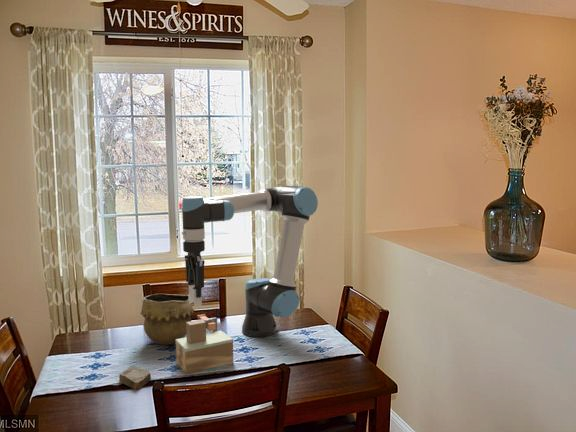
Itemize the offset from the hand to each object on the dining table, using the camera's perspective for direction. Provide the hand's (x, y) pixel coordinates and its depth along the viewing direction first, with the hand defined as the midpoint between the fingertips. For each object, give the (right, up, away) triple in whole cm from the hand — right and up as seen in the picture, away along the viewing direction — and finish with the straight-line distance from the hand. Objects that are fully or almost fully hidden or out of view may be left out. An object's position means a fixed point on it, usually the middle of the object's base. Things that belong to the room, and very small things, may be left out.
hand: (195, 304), depth 178 cm
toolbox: (+3, -22, +4) cm, 23 cm away
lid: (+3, -14, +3) cm, 15 cm away
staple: (+3, -21, +15) cm, 26 cm away
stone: (-19, -25, -10) cm, 33 cm away
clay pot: (-16, -20, +24) cm, 36 cm away
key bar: (+1, -12, +17) cm, 20 cm away
